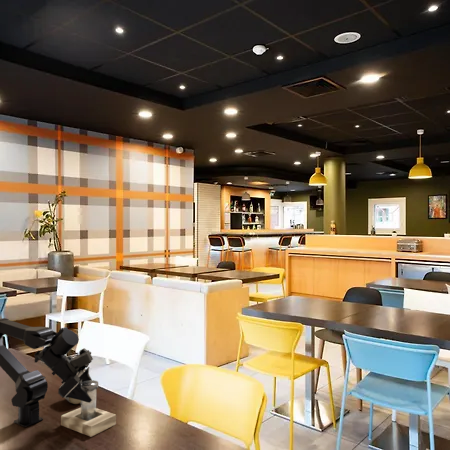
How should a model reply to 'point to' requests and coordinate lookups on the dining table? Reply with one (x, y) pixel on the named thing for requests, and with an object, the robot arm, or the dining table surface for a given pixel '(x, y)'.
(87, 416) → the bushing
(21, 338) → the robot arm
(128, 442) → the dining table surface
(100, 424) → the plate
